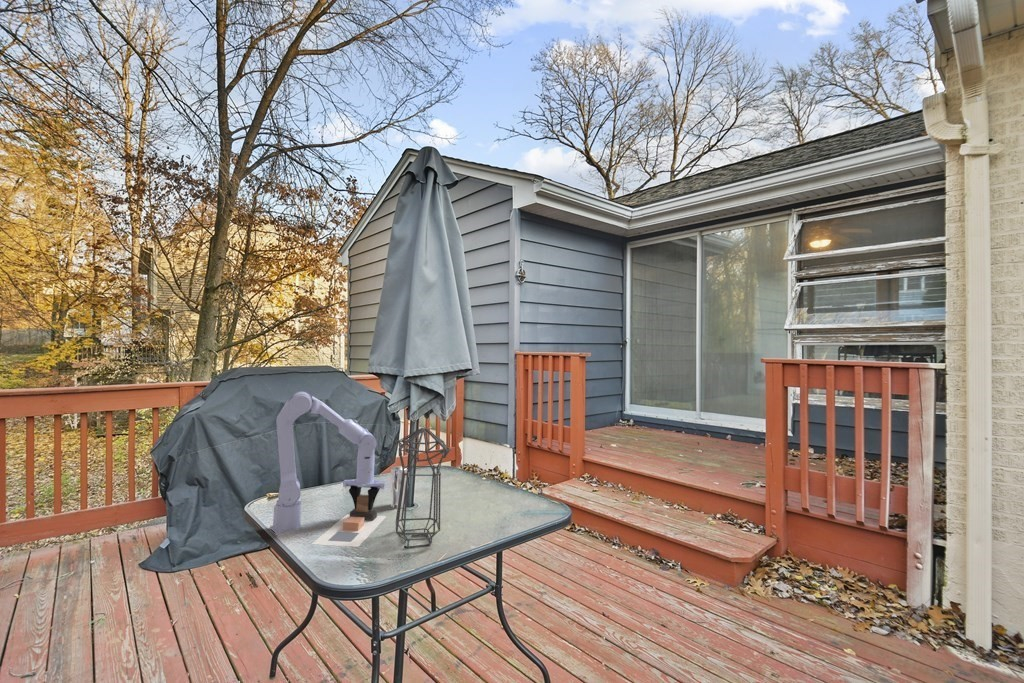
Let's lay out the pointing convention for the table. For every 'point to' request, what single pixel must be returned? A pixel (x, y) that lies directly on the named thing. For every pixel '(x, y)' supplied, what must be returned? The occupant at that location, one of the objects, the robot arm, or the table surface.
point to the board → (348, 533)
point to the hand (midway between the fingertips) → (363, 508)
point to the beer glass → (396, 485)
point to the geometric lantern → (444, 453)
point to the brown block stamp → (363, 509)
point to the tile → (353, 523)
